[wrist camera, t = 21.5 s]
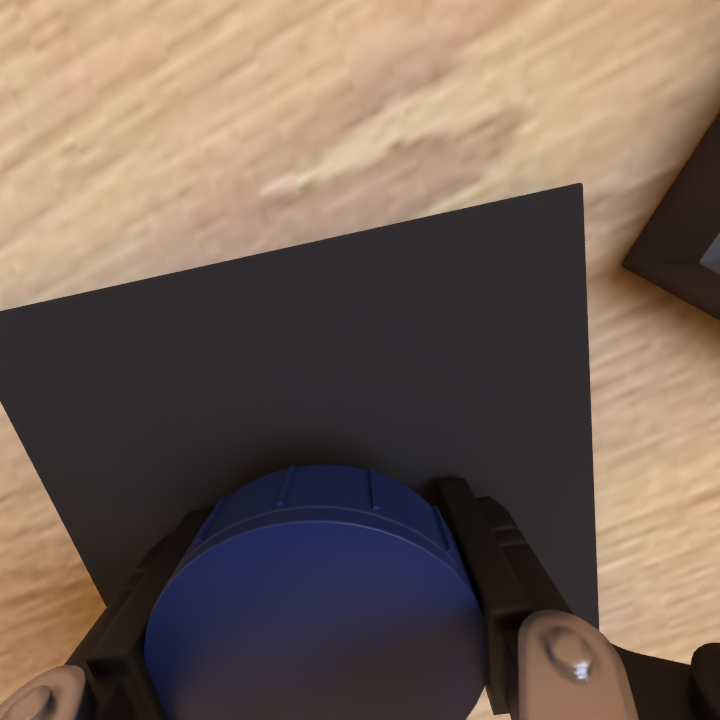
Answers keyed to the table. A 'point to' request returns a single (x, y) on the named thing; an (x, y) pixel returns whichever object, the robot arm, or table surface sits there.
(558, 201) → the mat
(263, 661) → the lid
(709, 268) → the picture frame
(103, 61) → the table surface
